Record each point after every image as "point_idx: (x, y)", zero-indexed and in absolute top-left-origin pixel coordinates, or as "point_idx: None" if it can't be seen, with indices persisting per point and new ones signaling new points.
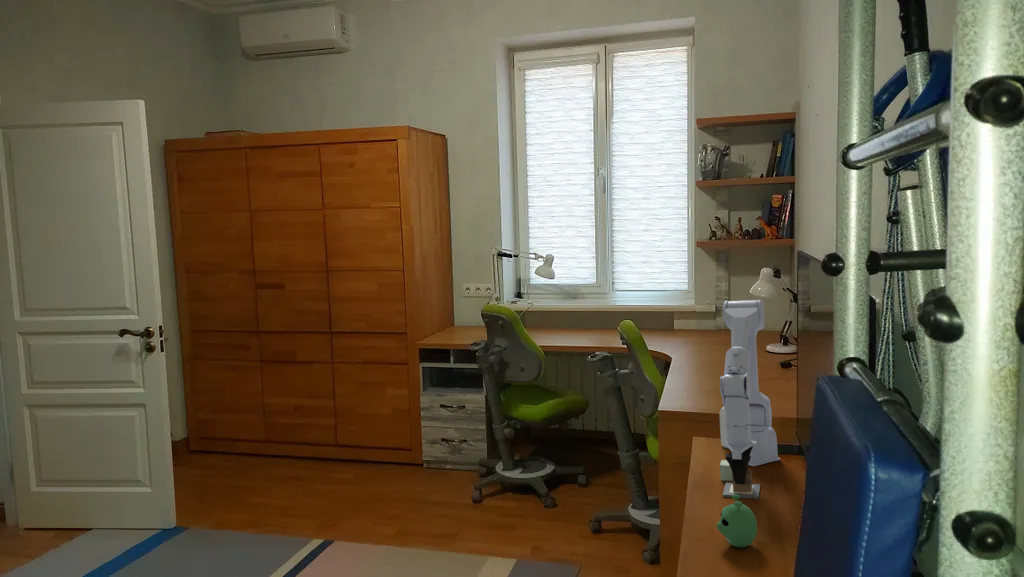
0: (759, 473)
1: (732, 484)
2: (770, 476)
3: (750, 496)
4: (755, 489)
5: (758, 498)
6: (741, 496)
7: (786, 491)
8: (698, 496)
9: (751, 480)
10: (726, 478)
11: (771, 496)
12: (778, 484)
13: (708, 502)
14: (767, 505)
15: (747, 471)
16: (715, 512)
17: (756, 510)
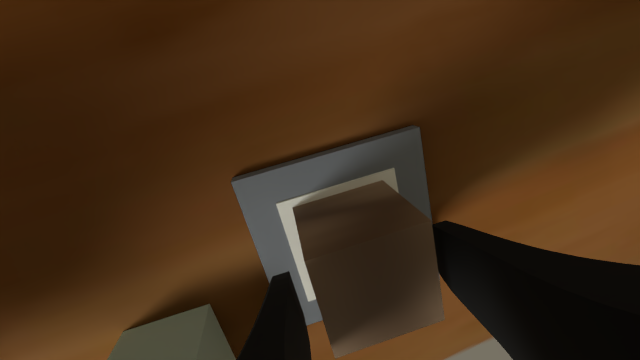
0: (3, 260)
1: (300, 298)
2: (9, 185)
3: (424, 165)
4: (324, 176)
5: (413, 126)
6: (427, 205)
7: (230, 6)
8: (452, 345)
9: (307, 221)
10: (227, 353)
11: (349, 73)
12: (130, 92)
13: None
14: (478, 56)
15: (339, 272)
16: (588, 230)
17: (547, 88)
